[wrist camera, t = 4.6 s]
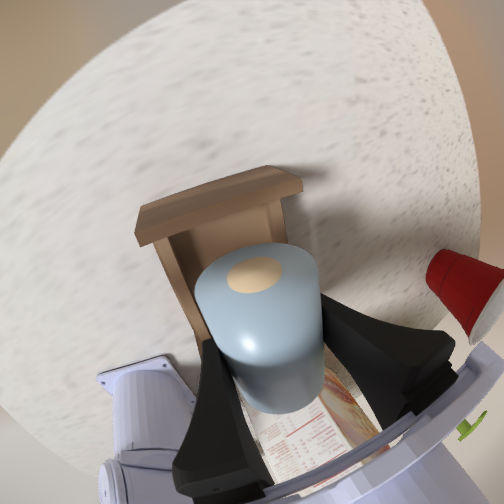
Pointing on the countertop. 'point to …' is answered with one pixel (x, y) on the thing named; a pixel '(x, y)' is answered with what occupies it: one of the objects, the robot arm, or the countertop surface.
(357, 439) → the coffeecake box
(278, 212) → the holder
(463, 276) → the plastic cup
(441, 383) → the robot arm
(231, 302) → the roll
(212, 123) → the countertop surface
